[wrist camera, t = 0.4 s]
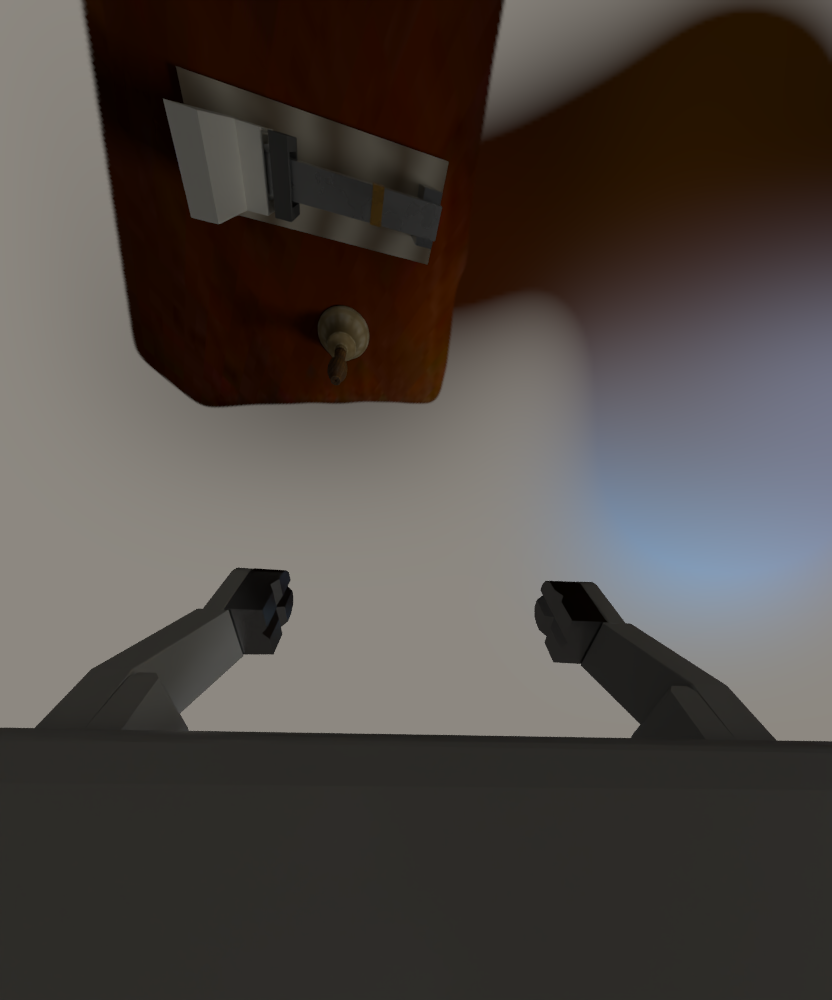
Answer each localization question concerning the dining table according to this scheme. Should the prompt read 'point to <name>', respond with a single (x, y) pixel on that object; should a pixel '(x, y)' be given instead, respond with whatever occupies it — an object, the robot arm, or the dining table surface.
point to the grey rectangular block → (220, 162)
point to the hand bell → (342, 338)
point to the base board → (328, 162)
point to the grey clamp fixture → (364, 200)
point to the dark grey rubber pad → (283, 174)
